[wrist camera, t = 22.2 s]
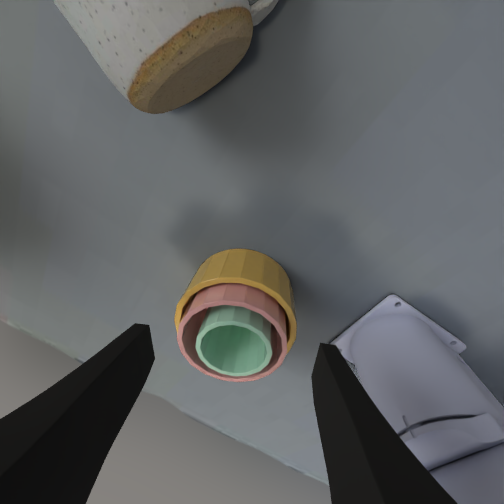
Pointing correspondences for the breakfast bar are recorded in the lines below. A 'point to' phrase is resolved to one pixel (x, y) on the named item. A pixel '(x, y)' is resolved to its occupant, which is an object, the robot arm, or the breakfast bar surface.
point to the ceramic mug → (165, 44)
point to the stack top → (235, 297)
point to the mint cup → (234, 340)
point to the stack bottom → (244, 282)
